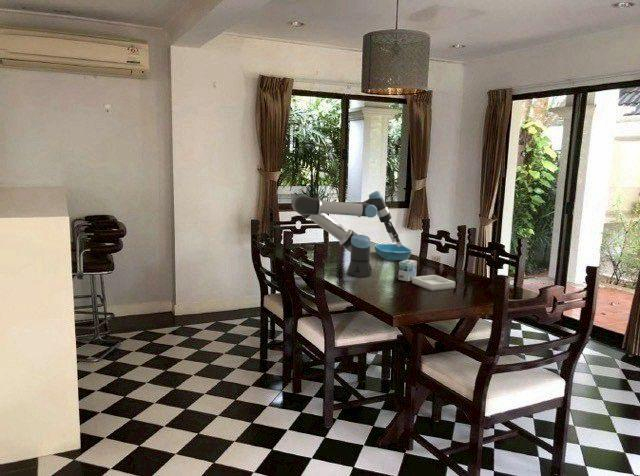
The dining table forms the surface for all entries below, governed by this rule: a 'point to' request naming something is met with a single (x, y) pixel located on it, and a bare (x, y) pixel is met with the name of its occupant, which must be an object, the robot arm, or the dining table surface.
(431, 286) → the tray
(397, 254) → the casserole dish
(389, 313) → the dining table surface
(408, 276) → the light bulb box
